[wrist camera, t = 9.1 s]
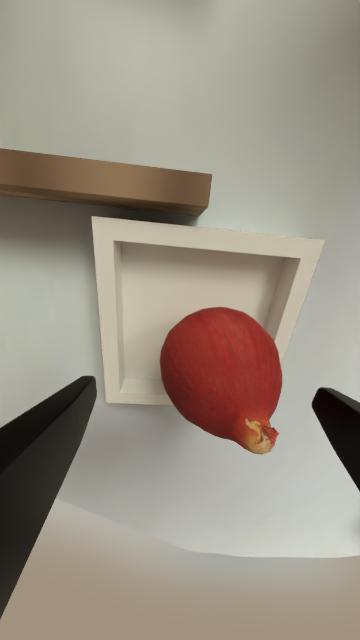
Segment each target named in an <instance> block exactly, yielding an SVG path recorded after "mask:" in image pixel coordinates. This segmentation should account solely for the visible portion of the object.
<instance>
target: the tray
mask: <svg viewBox="0 0 360 640" xmlns="http://www.w3.org/2000/svg"><path fill="white" fill-rule="evenodd" d="M91 218H92V230H93V243H94V255H95V268H96V281H97V293H98V306H99V318H100V331H101V343H102V356H103V369H104V381H105V394H106V403H126V404H149V405H173V406H174V404H173V403H172V402H171V400H170V398H169V396H168V395H167V393H166V391H165V388H164V385H163V382H162V378H161V369H160V354H161V349H162V346H163V344H164V341H165V339H166V337H167V334H168V332H169V331H170V330H171V329H172V328H173V327H174V326H175V325H176V324H178V323H179V322H180V321H181V320H182V319H183V318H184V317H186V316H187V315H189V314H192V313H194V312H196V311H199V310H201V309H205V308H213V307H227V308H231V309H234V310H238V311H242V312H245V313H246V314H248V315H249V316H250V317H252V318H253V319H255V320H256V321H257V322H258V323H259V324H260V325H261V326H262V327H263V328H264V329H265V330H266V331H267V332H268V334H269V335H270V336H271V337H272V339H273V340H274V342H275V344H276V347H277V349H278V353H279V359H280V365H281V364H282V362H283V359H284V356H285V353H286V350H287V347H288V345H289V342H290V339H291V336H292V333H293V331H294V328H295V325H296V322H297V319H298V316H299V314H300V311H301V308H302V305H303V302H304V300H305V297H306V294H307V291H308V288H309V285H310V283H311V280H312V277H313V274H314V271H315V269H316V266H317V263H318V260H319V257H320V255H321V252H322V249H323V246H324V243H325V240H318V239H309V238H299V237H289V236H280V235H270V234H260V233H251V232H241V231H232V230H222V229H212V228H203V227H193V226H183V225H174V224H164V223H154V222H145V221H135V220H125V219H116V218H106V217H97V216H91Z"/></svg>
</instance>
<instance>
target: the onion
mask: <svg viewBox="0 0 360 640" xmlns="http://www.w3.org/2000/svg"><path fill="white" fill-rule="evenodd" d="M160 369H161V378H162V382H163V385H164V388H165V391H166V393H167V395H168V396H169V398H170V400H171V402H172V403H173V404H174V406H175V407H176V408H177V410H178V411H179V412H180V413H181V414H182V415H183V417H184V418H185V419H186V420H188V421H189V422H191V423H193V424H195V425H197V426H198V427H200V428H201V429H203V430H204V431H206V432H208V433H210V434H212V435H214V436H217V437H220V438H224V439H230V440H232V441H235V442H236V443H238V444H239V445H240V446H242V447H243V448H244V449H246V450H248V451H250V452H252V453H254V454H264V453H267V452H270V451H271V450H272V448H273V446H274V444H275V441H276V438H277V436H278V434H279V433H278V432H277V431H276V430H275V429H274V427H273V428H271V425H270V422H269V419H270V418H271V416H272V414H273V413H274V411H275V409H276V407H277V404H278V400H279V397H280V393H281V387H282V371H281V365H280V359H279V353H278V349H277V347H276V344H275V342H274V340H273V339H272V337H271V336H270V335H269V334H268V332H267V331H266V330H265V329H264V328H263V327H262V326H261V325H260V324H259V323H258V322H257V321H256V320H255V319H253V318H252V317H250V316H249V315H248V314H246V313H245V312H242V311H238V310H234V309H231V308H227V307H213V308H205V309H201V310H199V311H196V312H194V313H192V314H189V315H187V316H186V317H184V318H183V319H182V320H181V321H180V322H179V323H178V324H176V325H175V326H174V327H173V328H172V329H171V330H170V331H169V332H168V334H167V337H166V339H165V341H164V344H163V346H162V349H161V354H160Z"/></svg>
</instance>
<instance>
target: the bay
mask: <svg viewBox="0 0 360 640" xmlns="http://www.w3.org/2000/svg"><path fill="white" fill-rule="evenodd" d="M211 180H212V174H205V173H197V172H188V171H180V170H172V169H164V168H156V167H148V166H139V165H131V164H123V163H115V162H107V161H98V160H90V159H82V158H74V157H66V156H58V155H49V154H41V153H33V152H25V151H17V150H9V149H0V194H1V195H10V196H19V197H29V198H38V199H47V200H57V201H66V202H75V203H84V204H94V205H103V206H112V207H122V208H131V209H140V210H149V211H159V212H168V213H177V214H187V215H196V216H200V215H201V214H202V213H203V212H204V211H205V210H206V208H207V207H208V204H209V196H210V188H211Z"/></svg>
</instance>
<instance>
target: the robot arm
mask: <svg viewBox="0 0 360 640" xmlns="http://www.w3.org/2000/svg"><path fill="white" fill-rule="evenodd" d="M96 396H97V390H96V380H95V377H94V376H82V377H80V378H78V379H77V380H75V381H74V382H72V383H71V384H69V385H67V386H66V387H64V388H63V389H61V390H60V391H58V392H56V393H55V394H53V395H52V396H50V397H48V398H47V399H45V400H44V401H42V402H41V403H39V404H37V405H36V406H34V407H33V408H31V409H30V410H28V411H26V412H25V413H23V414H22V415H20V416H18V417H17V418H15V419H14V420H12V421H11V422H9V423H7V424H6V425H4V426H3V427H1V428H0V619H1V616H2V614H3V612H4V610H5V608H6V606H7V603H8V601H9V599H10V597H11V594H12V592H13V590H14V588H15V586H16V584H17V581H18V579H19V577H20V575H21V573H22V571H23V568H24V566H25V564H26V562H27V560H28V557H29V555H30V553H31V550H32V549H33V546H34V544H35V542H36V540H37V538H38V535H39V533H40V531H41V529H42V527H43V524H44V522H45V520H46V518H47V516H48V513H49V511H50V509H51V507H52V505H53V503H54V500H55V498H56V496H57V494H58V492H59V490H60V487H61V485H62V483H63V481H64V479H65V476H66V474H67V472H68V470H69V468H70V465H71V463H72V461H73V459H74V457H75V454H76V452H77V450H78V448H79V446H80V443H81V441H82V438H83V435H84V433H85V430H86V427H87V424H88V421H89V418H90V415H91V412H92V409H93V406H94V403H95V400H96ZM312 408H313V410H314V412H315V414H316V416H317V418H318V420H319V422H320V424H321V426H322V428H323V430H324V432H325V434H326V435H327V437H328V439H329V441H330V443H331V445H332V447H333V449H334V450H335V452H336V454H337V455H338V457H339V459H340V460H341V462H342V463H343V465H344V467H345V468H346V470H347V472H348V473H349V475H350V476H351V478H352V480H353V481H354V483H355V484H356V486H357V488H358V489H359V491H360V403H359V402H357V401H355V400H353V399H352V398H350V397H348V396H346V395H344V394H342V393H340V392H338V391H336V390H334V389H332V388H323V387H321V388H319V389H318V390H317V392H316V394H315V397H314V399H313V401H312Z"/></svg>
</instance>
